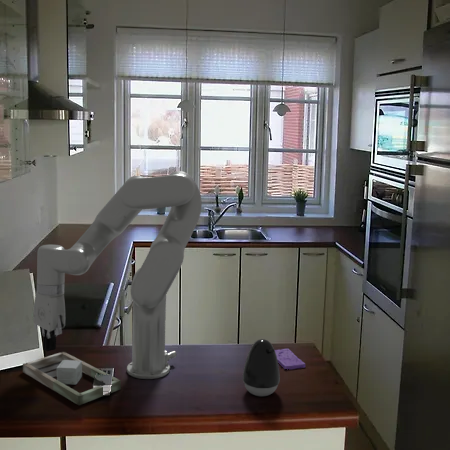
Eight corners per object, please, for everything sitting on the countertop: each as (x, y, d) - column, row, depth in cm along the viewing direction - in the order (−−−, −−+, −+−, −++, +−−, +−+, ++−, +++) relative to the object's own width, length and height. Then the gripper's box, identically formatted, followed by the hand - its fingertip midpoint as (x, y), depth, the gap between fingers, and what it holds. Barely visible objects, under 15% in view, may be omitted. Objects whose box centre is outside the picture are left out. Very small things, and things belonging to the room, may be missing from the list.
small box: (63, 375, 165) (62, 359, 165) (82, 376, 165) (82, 360, 164) (56, 384, 160) (55, 367, 159) (76, 385, 160) (76, 368, 159)
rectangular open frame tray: (63, 359, 176) (63, 351, 176) (120, 389, 158) (120, 380, 157) (23, 372, 166) (22, 363, 166) (78, 405, 148) (78, 396, 148)
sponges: (288, 353, 188) (288, 348, 188) (305, 369, 176) (305, 363, 176) (268, 355, 186) (268, 350, 186) (284, 371, 174) (285, 365, 174)
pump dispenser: (254, 404, 152) (256, 349, 149) (235, 387, 161) (237, 336, 158) (286, 396, 157) (289, 343, 154) (266, 381, 166) (269, 331, 163)
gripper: (24, 284, 166) (24, 344, 169) (53, 297, 156) (52, 361, 159) (48, 280, 172) (47, 339, 175) (77, 292, 162) (75, 354, 165)
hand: (49, 349), depth 167 cm, fingers closed
